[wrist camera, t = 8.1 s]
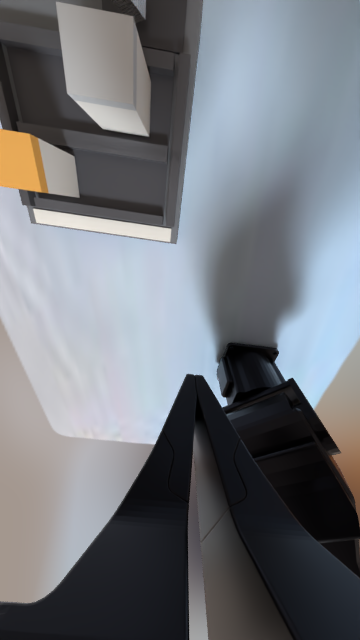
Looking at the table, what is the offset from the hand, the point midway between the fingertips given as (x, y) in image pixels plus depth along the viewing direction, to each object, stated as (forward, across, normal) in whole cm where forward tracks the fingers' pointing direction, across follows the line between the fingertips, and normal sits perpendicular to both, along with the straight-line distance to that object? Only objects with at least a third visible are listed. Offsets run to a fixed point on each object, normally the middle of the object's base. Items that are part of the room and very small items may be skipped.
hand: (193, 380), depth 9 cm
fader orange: (+10, +11, -9) cm, 17 cm away
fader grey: (+10, +6, -13) cm, 17 cm away
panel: (+12, +8, -11) cm, 18 cm away
